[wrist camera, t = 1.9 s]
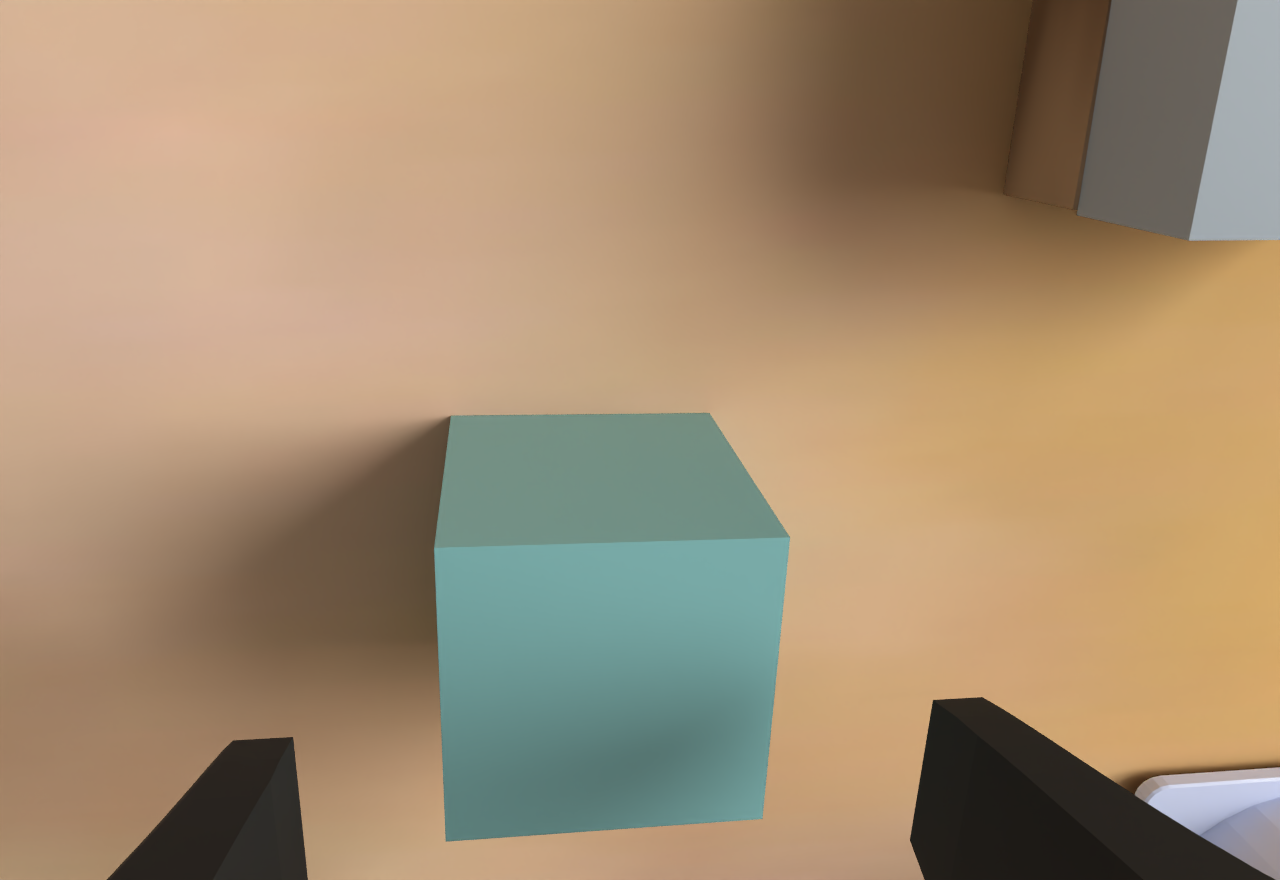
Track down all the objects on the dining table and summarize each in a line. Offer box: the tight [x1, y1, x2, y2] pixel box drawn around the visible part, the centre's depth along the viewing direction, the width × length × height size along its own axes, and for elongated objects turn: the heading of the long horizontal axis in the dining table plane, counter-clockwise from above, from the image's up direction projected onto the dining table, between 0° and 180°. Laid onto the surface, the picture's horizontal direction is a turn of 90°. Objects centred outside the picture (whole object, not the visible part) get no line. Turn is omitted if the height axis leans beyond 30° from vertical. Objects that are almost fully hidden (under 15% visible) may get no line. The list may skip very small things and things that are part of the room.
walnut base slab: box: [1003, 0, 1112, 210], centre depth 15 cm, size 6×6×2 cm
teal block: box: [434, 413, 790, 841], centre depth 15 cm, size 4×4×5 cm
